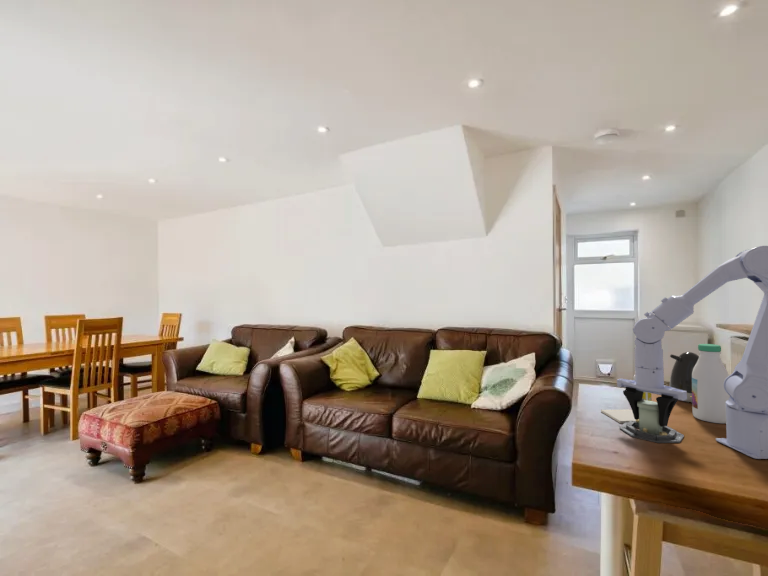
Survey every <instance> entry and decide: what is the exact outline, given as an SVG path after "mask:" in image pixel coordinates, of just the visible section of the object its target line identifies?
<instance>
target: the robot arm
mask: <svg viewBox="0 0 768 576" xmlns="http://www.w3.org/2000/svg"><path fill="white" fill-rule="evenodd" d="M743 279H749V280H750V281H752V282H753V283H754V284H755V285H756V286H757V287H758V288H759V289H760V290H761V291H762V292H763V297H762V300H761V302H760V306H759V309H758V312H757V314H756V317H755V320H754V322H753V325H752V329H751V331H750V334H749V337H748V339H747V342H746V345H745V348H744V351H743V354H742V356H741V359H740V361H739V362H738V363H737V364H736V365H735V366H734V370H733V372H732V373H731V374H728V375H729V376H728V377H727V378H726V379H725V381H724V389H725V391H726V392H727V394H728V395H730V397H729V399H728V400H727V401H726V423H725V424H726V425H725V428H726V429H725V431H726V438H725V437H721V438H718V437H716V438H715V441H716V442H718V443H720V444H723V445H724V446H727V447H729V448H731V449H733V450H736V451H738V452H740V453H741V454H744V455H745V456H748V457H750V458H752V459H755V460H756V459H757V460H761V459H765V460H767V459H768V245H759V246H756V247H753V248H750V249H748V248H747V249H745V250H743V251H740V252H739V253H737V254H736V255H735V256H734V257H730V258H729V259H727V260H726V261H724V262H722V263H721V264H719V265H718V266H715V268H714V269H712V270H711V271H710V272H709V273H707V274H706V276H704V277H702V278H701V279H700V280H699V281H697V282H696V283H695V284H694V285H693V286H692V287H690V288H689V289H688V290H686V291H685V292H684V293H683V294H681V295H670V296H669V297H667V296H666V297H663V298H662V299H660V302H661V303H660V304H658V305H657V306H656V307H655V308H654V309H652V310H651V311H649V312H648V311H646V312H645V313H644V314H643V315H644V316H645V318H640V319H638V320H637V321H636V322H635V323H634V325H633V328H632V331H633V334H634V335H635V339H634V345H635V347H634V375H635V380H634V379H627V378H617V379H616V386H617V387H618V388H625V390H623V391H622V393H623V395H624V396H625V398H626V400H627V401H628V404H629V407H630V409H632V412H633V415H634V419H636V420H638V419H639V407H638V406H637V401H640V400H642V398H643V392H648V393H651V394H654V395H657V396H658V395H659V396H658V397H655V400H656V402H657V404H658V409H659V424H660V426H661V427H665V426H668V425H669V420H670V416H671V415H672V414H671V413H672V411H673V409H674V407H675V406H676V404H677V403H678V401H682V402H684V401H683V400H686V399H687V391H684V390H680V389H676V388H672V387H670V385H669V386H668V385H665V373H664V369H665V368H664V350H663V348H662V345H663V344H662V343H663V341H662V339H663V338H664V336H665V334H666V333H665V332H667V331H668V332H669V331H671V330H673V329H674V328H675V327H677V326H678V325H680V323H682V322H684V321H685V320H686V319H688V318H689V317H691V316H692V315H693V314H694V312H695V311H694V309H695V308H694V307H695V305H696V304H698V303H699V302H701V301H702V300H703V299H705V298H706V297H708V296H709V295H711V294H713V293H714V292H715V291H717V290H718V289H719V288H721V287H723V286H724V285H725V284H727V283H729V282H733V281H738V280H743Z"/></svg>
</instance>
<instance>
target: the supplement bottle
mask: <svg viewBox="0 0 768 576" xmlns="http://www.w3.org/2000/svg"><path fill="white" fill-rule="evenodd" d="M632 380H635V374H634V375H633V379H632ZM652 399H653V397H652V393H648V392H643V398H642V400H647V401H653V400H652Z"/></svg>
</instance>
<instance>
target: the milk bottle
mask: <svg viewBox="0 0 768 576" xmlns="http://www.w3.org/2000/svg"><path fill="white" fill-rule="evenodd" d="M697 349H698V353H699V355H698V356H699V359H698V361H697V363H696V365H695V366H694V368H693V372H692V403H691V405H692V406H691V408H692V409H691V410H692V416H693V417H694V418H695V419H698V420H701V421H705V422H708V423H714V424H726V401H727V400H728V399H729V397H730V395H728V394H727V392H726V391H725V389H724V381H725V379H726V378H727V377H728V376H729V375H730V374H729V371H728V370H727V369H726V367H725V365H724V363H723V361H722V358H721V354H722V346H721V345H719V344H715V343H713V344H712V343H698V346H697Z"/></svg>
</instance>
